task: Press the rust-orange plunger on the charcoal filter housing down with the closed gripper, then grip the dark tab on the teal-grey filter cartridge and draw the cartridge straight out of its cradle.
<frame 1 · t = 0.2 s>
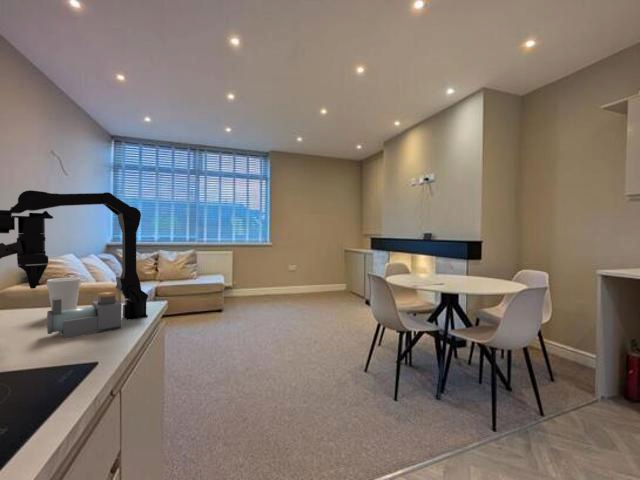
hand: (32, 286, 89), 14 cm above the table, fingers open, 9 cm apart
housing: (87, 330, 94), on the table
plunger: (106, 299, 97), point 9 cm above the table, slide at 0.0 cm
foam cup: (64, 315, 110), on the table
cartridge: (71, 313, 91), point 6 cm above the table, slide at 0.0 cm
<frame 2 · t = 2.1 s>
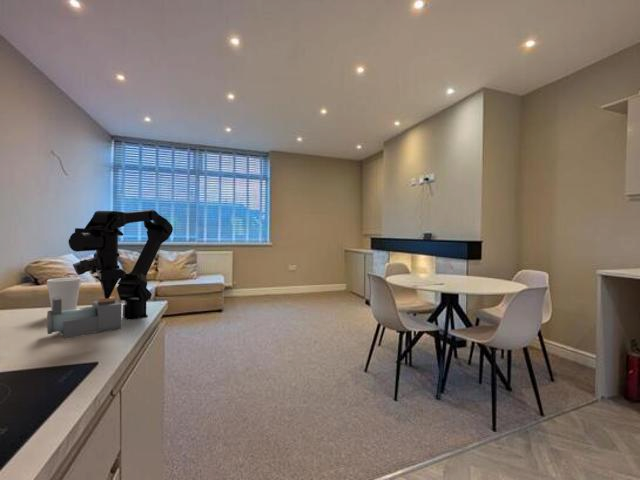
hand: (106, 298, 97), 9 cm above the table, fingers closed, pressing on plunger
plunger: (106, 304, 97), point 7 cm above the table, slide at -1.5 cm, touching gripper
everything else where it was.
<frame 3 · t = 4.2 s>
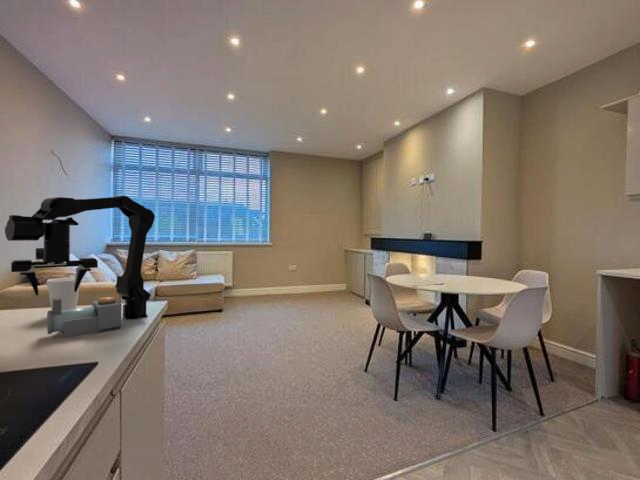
hand: (56, 293, 88), 12 cm above the table, fingers open, 8 cm apart
plunger: (106, 304, 97), point 7 cm above the table, slide at -1.7 cm
everything else where it was.
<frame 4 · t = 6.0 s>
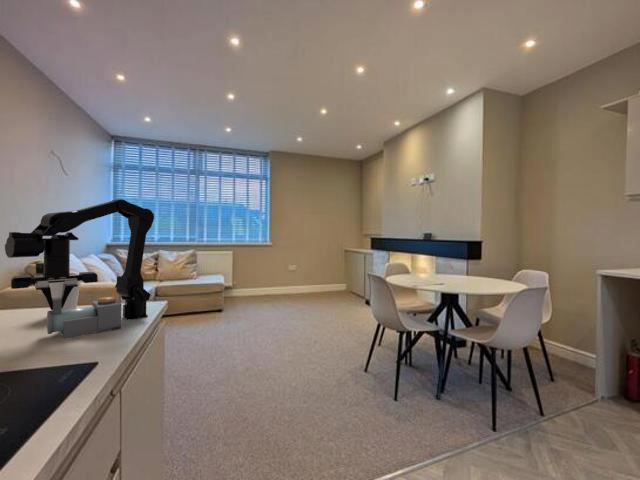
hand: (56, 308, 88), 8 cm above the table, fingers closed on cartridge, 2 cm apart
cartridge: (71, 313, 91), point 6 cm above the table, slide at 0.0 cm, touching gripper
everything else where it was.
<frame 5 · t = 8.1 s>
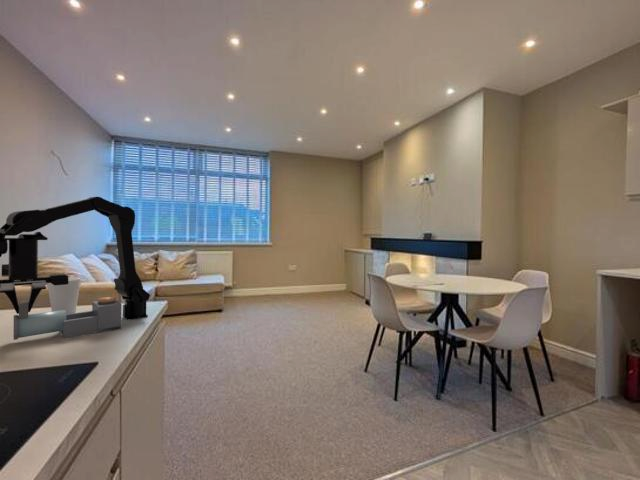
hand: (23, 312, 83), 8 cm above the table, fingers closed on cartridge, 2 cm apart
cartridge: (40, 317, 86), point 6 cm above the table, slide at 7.0 cm, touching gripper
everything else where it was.
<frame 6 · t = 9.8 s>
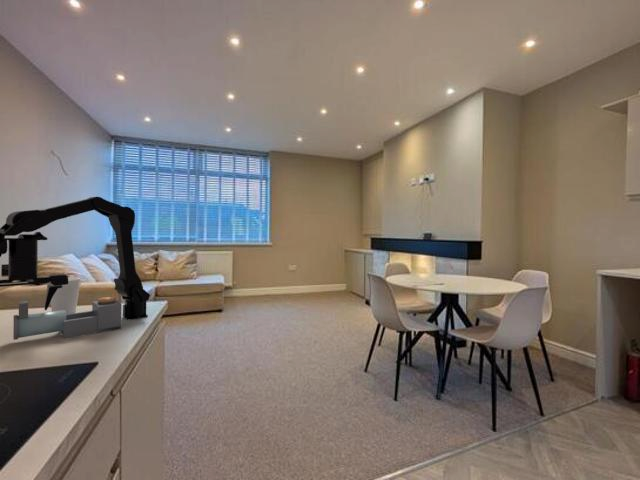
hand: (23, 312, 83), 8 cm above the table, fingers open, 9 cm apart
cartridge: (40, 317, 86), point 6 cm above the table, slide at 7.0 cm
everything else where it was.
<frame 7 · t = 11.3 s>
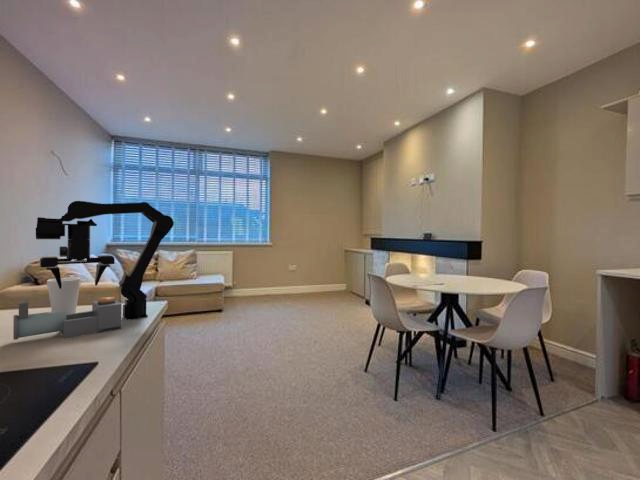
hand: (78, 286, 99), 12 cm above the table, fingers open, 9 cm apart
nothing on the table moved.
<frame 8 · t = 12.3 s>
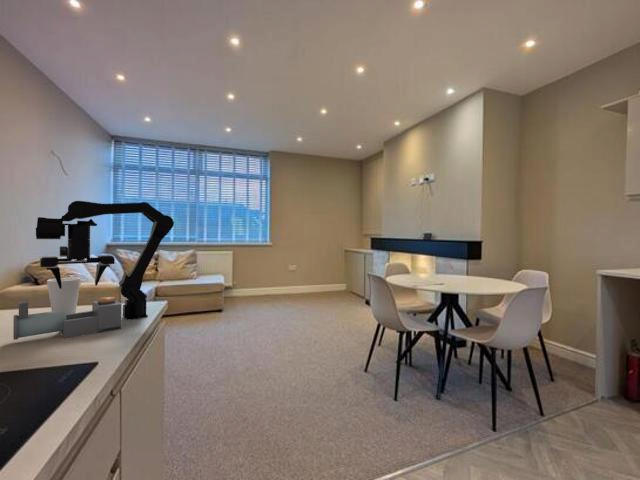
hand: (78, 286, 99), 13 cm above the table, fingers open, 9 cm apart
nothing on the table moved.
at the end: plunger slide at -1.7 cm; cartridge slide at 7.0 cm; the gripper is holding nothing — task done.
